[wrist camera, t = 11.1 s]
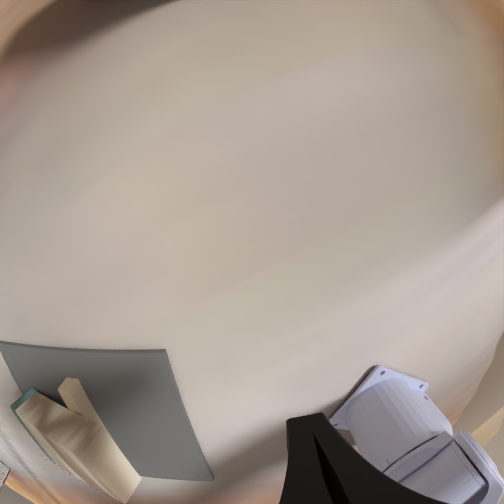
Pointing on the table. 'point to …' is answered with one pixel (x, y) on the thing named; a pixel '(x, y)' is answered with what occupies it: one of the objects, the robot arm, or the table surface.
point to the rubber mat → (118, 402)
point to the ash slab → (77, 445)
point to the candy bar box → (3, 474)
